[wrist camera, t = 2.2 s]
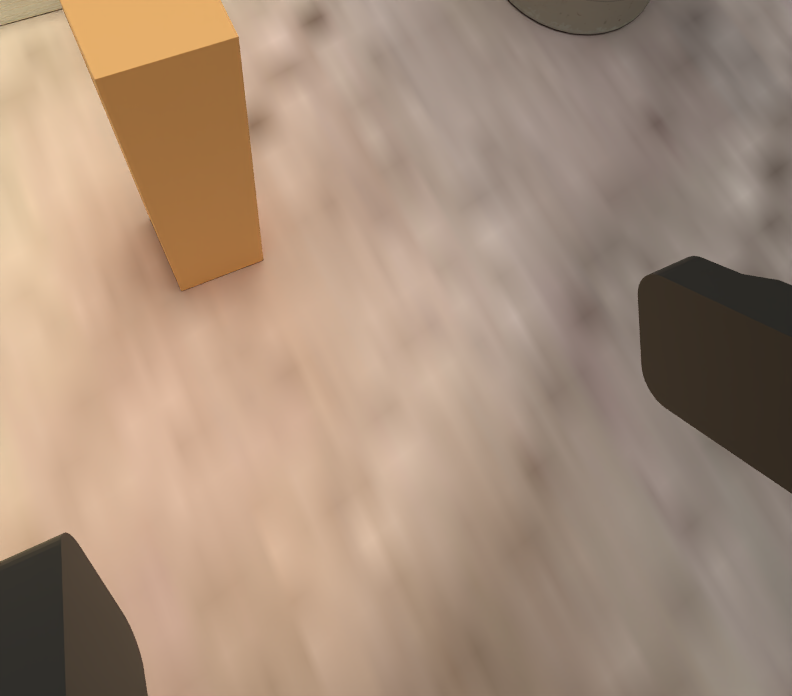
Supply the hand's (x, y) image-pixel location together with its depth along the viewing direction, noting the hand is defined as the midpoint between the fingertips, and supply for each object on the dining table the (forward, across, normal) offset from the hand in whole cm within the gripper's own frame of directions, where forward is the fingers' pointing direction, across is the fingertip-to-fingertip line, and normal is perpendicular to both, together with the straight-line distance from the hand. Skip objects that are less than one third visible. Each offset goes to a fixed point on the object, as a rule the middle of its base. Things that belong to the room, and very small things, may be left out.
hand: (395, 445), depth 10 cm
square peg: (+20, 0, +3) cm, 20 cm away
